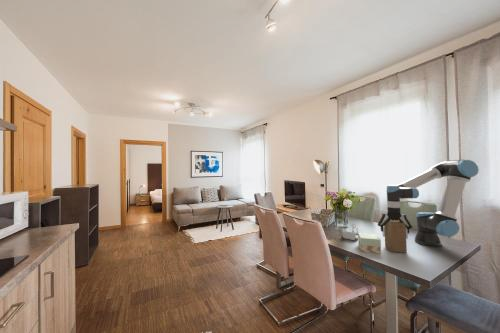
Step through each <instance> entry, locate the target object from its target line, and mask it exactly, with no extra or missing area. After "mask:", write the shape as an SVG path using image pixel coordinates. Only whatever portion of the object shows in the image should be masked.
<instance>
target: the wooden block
mask: <svg viewBox="0 0 500 333" xmlns="http://www.w3.org/2000/svg"><path fill="white" fill-rule="evenodd" d="M404 223H405V222H404ZM404 223H402V222H400V221H399V220H397V221H396V220H390V221H389V222H387V224H386V225H385V226H383V227H384V231H385V237H384V246H385V248H386V249H387V250H388V251H389V252H391V253H402V254H403V253H407V251H408V250H407V249H408V248H407V239H406V225H407V224H406V223H405V224H406V225H405V224H404Z"/></svg>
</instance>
